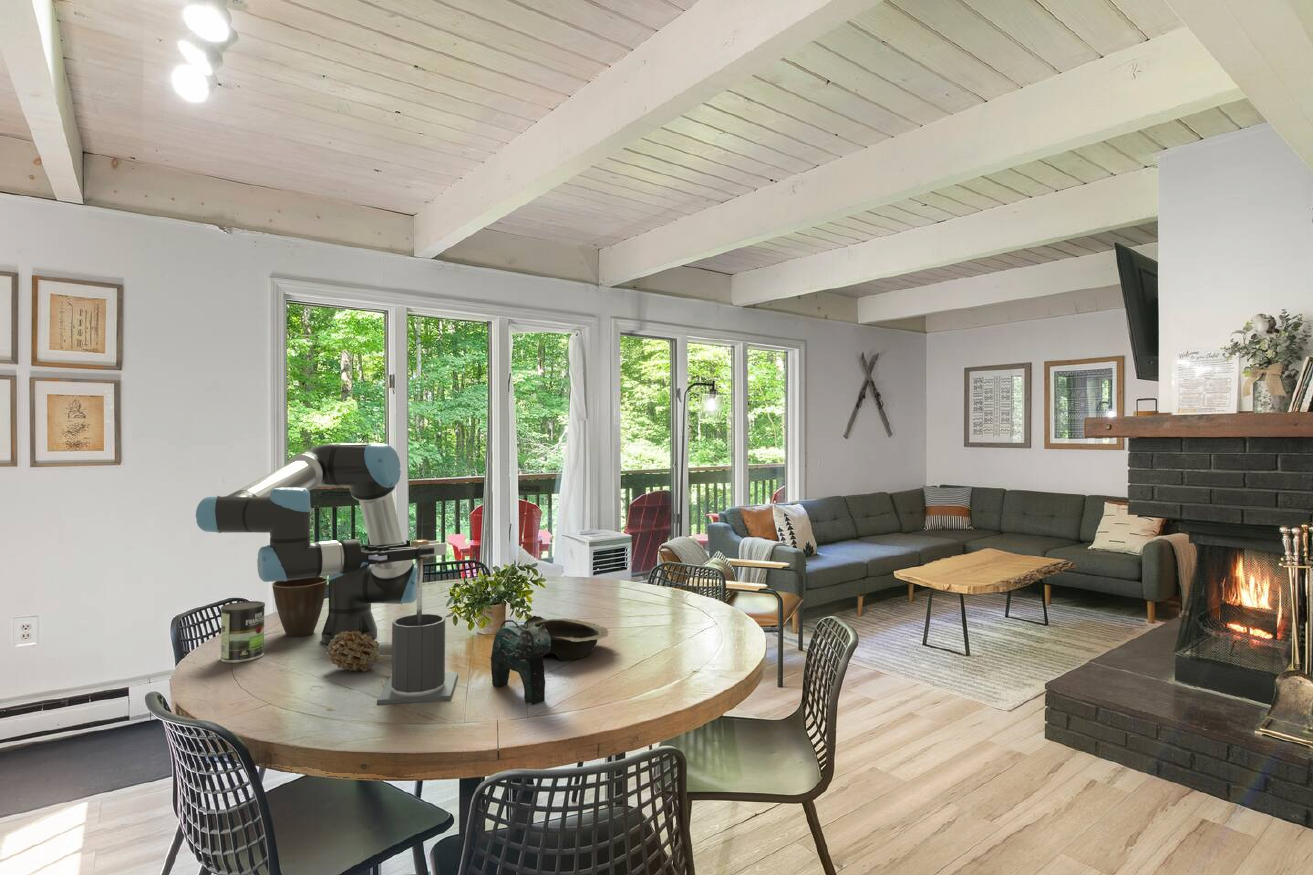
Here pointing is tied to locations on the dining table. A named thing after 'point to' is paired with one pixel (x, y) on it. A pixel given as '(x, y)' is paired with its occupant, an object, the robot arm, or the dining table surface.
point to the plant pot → (299, 604)
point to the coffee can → (242, 631)
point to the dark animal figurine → (521, 658)
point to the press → (418, 662)
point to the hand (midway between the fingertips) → (441, 547)
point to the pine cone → (354, 651)
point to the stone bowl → (569, 636)
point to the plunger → (419, 580)
